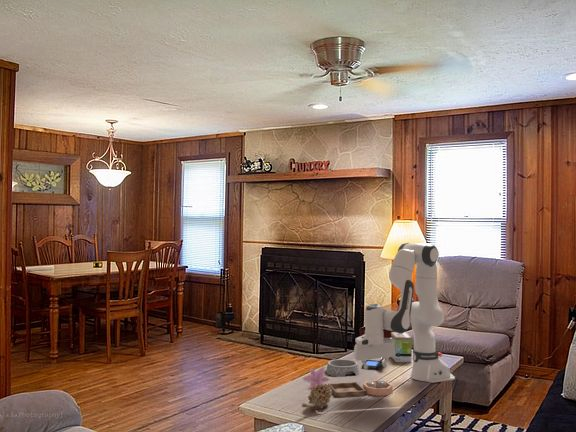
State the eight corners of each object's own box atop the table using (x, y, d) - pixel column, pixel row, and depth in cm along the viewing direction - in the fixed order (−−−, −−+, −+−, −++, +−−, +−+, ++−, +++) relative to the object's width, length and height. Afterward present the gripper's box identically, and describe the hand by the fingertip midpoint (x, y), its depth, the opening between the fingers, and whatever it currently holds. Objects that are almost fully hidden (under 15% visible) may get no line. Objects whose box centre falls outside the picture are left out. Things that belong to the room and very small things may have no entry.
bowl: (385, 387, 259) (385, 379, 259) (395, 396, 246) (395, 388, 246) (360, 389, 256) (360, 381, 257) (369, 397, 244) (369, 389, 244)
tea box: (412, 362, 305) (412, 337, 305) (394, 362, 305) (395, 337, 305) (406, 355, 320) (406, 331, 320) (390, 355, 320) (390, 331, 320)
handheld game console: (366, 361, 307) (366, 346, 307) (389, 364, 302) (389, 348, 302) (361, 369, 292) (361, 352, 292) (385, 371, 288) (385, 354, 288)
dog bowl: (320, 370, 290) (320, 360, 290) (349, 366, 297) (349, 357, 297) (335, 378, 274) (335, 368, 274) (365, 374, 281) (365, 364, 281)
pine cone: (316, 400, 240) (316, 378, 240) (335, 404, 235) (336, 382, 235) (294, 416, 220) (294, 393, 220) (315, 420, 216) (315, 396, 216)
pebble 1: (374, 389, 253) (374, 381, 253) (377, 392, 249) (377, 384, 249) (366, 390, 252) (366, 381, 252) (368, 392, 248) (368, 384, 248)
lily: (299, 389, 258) (300, 375, 254) (312, 375, 267) (313, 361, 262) (320, 401, 253) (322, 387, 248) (332, 386, 261) (334, 372, 257)
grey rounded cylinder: (384, 388, 254) (384, 380, 254) (387, 391, 250) (387, 383, 250) (376, 389, 253) (376, 381, 253) (379, 392, 249) (379, 383, 249)
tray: (356, 387, 259) (356, 382, 259) (366, 396, 245) (366, 390, 245) (328, 389, 256) (328, 383, 256) (336, 398, 242) (336, 392, 242)
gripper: (391, 335, 257) (392, 363, 257) (352, 339, 252) (353, 367, 253) (397, 338, 250) (398, 367, 251) (356, 342, 246) (357, 371, 246)
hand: (375, 367), depth 252 cm, fingers open, 8 cm apart
